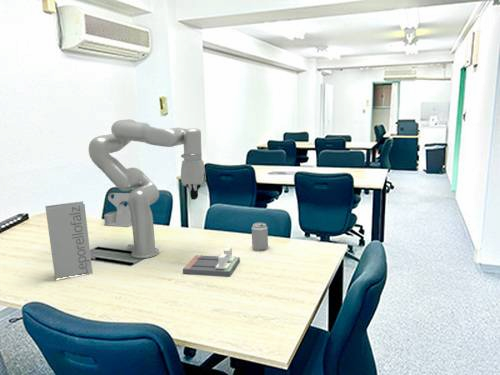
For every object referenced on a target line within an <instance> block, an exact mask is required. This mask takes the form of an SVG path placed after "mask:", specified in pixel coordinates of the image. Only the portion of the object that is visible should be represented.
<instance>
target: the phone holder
mask: <svg viewBox="0 0 500 375" xmlns="http://www.w3.org/2000/svg"><path fill="white" fill-rule="evenodd" d="M129 193H130V192H126V193H125V192H124V193H123V192H110V193H109V194H108V196H107V200H108V201H109V202H110V203H111V204H112V205H114V207H116V210H115V211H114V210H113V211H109V212H107V213H105V214H104V215H103V217H104V227H116V228H117V227H118V228H120V227H121V228H130V227H132V219H131V212H130V208H129V205H128V195H129ZM112 196H113V198H112ZM125 203H127V204H126V206H125V205H124V204H125Z"/></svg>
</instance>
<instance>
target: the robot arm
mask: <svg viewBox="0 0 500 375" xmlns="http://www.w3.org/2000/svg"><path fill="white" fill-rule="evenodd" d="M130 142H140V143H144V144H147V145H150V146H151V145H152V146H158V147H166V148H172V147H173V148H174V147H175V146H181V145H183V153H182V154H181V156H180V158H181V159H182V158H183V160H182V161H181V168H180V169H181V170H180V182H181V185H182V186H184V187H186V188H188V191H189V193H190V194H189V195H190V197H189V198H190V199H191V200H194V201H195V200H197V199H198V198H199V189H201V187H205V186H206V185H207V184H206V179H207V177H206V168H205V163H204V160H203V158H202V131H201V129H199V128H184V127H171V128H163V127H162V128H161V127H154V126H150V124H149V123H147V122H140V121H135V120H134V119H119V120H117V121H115V122H113V123H112V125H111V133H110V134H104V135H98V136H95V137H93V138H92V139H91V141H90V142H89V145H88V156H89V158H90V159H91V161H92V162H93V163H94V166H96V167H97V168H98V169H100V171H102V173H104V175H105V177H107V178H108V179H109V180H110V181H111V183H112V184H113V185H114V186H115V187H116V188H117V189H118V190H120V191H121V192H126V191H130V190H131V191H130V192H128V193H129V195H128V204H127V205H129V208H130V212H131V221H132V226H131V228H132V239H133V244H129V243H128V244H127V245H126V247H127V248H126V250H128V251H130V250H131V252H130V253H131V257H133V258H135V259H148V258H152V257H155V256H157V255H158V254H159V253H160V250H159V248H158V247H156V240H155V228H154V219H153V218H154V217H153V212H152V209H151V207H150V205H153V204H154V203H156V202H157V201H158V200H159V198H160V191H159V189H158V187H157V185H156V184H155V183H154V182H153V181H152V180H151V179H150V178H149V177H148V176H147V174H145V173H144V171H142V170H141V169H140V168H136V167H128V168H127V167H125V166H124V165H123V164H122V163H121V162H120V161H119V160H118V159H117V158H115V157H114V156H112V155H111V154H113V153H116V152H119V151H121V150H122V149H123V148H125V147H126V146H127V145H128V144H130ZM132 189H133V190H132Z"/></svg>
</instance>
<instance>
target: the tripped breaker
mask: <svg viewBox="0 0 500 375" xmlns="http://www.w3.org/2000/svg"><path fill="white" fill-rule="evenodd" d="M218 261H219V263H218V264H217V266H216V267H215V269H226V270H227V269H228V268H229V266H230V265H231V263H227V254H224V253H220V254H219V257H218Z"/></svg>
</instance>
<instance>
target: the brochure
mask: <svg viewBox="0 0 500 375" xmlns="http://www.w3.org/2000/svg"><path fill="white" fill-rule="evenodd" d="M45 214H46V221H47V228H48V235H49V243H50V251H51V256H52V257H51V258H52V265H53V272H54V278H55V279H57V278H63V277H69V276H75V275H82V274H87V273H92V274H93V272H94V271H93V265H92V264H93V263H92V256H91V248H90V247H91V246H90V238H89V231H88V221H87V214H86V205H85V203H84V201H83V200H82V201H75V202H67V203H59V204H51V205H50V204H49V205H45ZM87 275H88V274H87Z"/></svg>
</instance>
